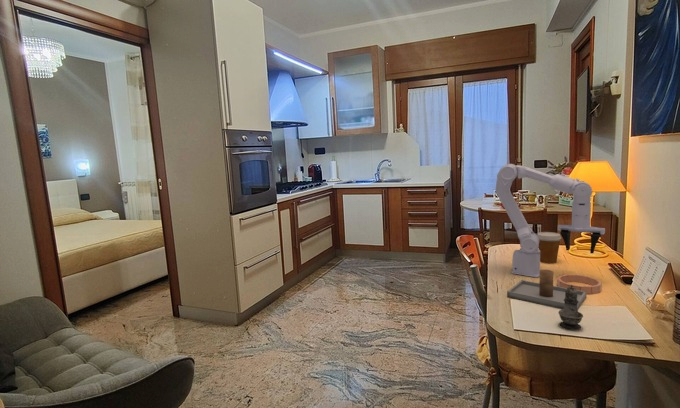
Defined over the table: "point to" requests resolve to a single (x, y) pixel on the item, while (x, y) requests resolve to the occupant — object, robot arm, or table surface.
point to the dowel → (546, 283)
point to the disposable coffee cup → (549, 246)
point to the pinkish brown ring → (592, 289)
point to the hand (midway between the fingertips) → (579, 251)
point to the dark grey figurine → (570, 311)
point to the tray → (531, 294)
